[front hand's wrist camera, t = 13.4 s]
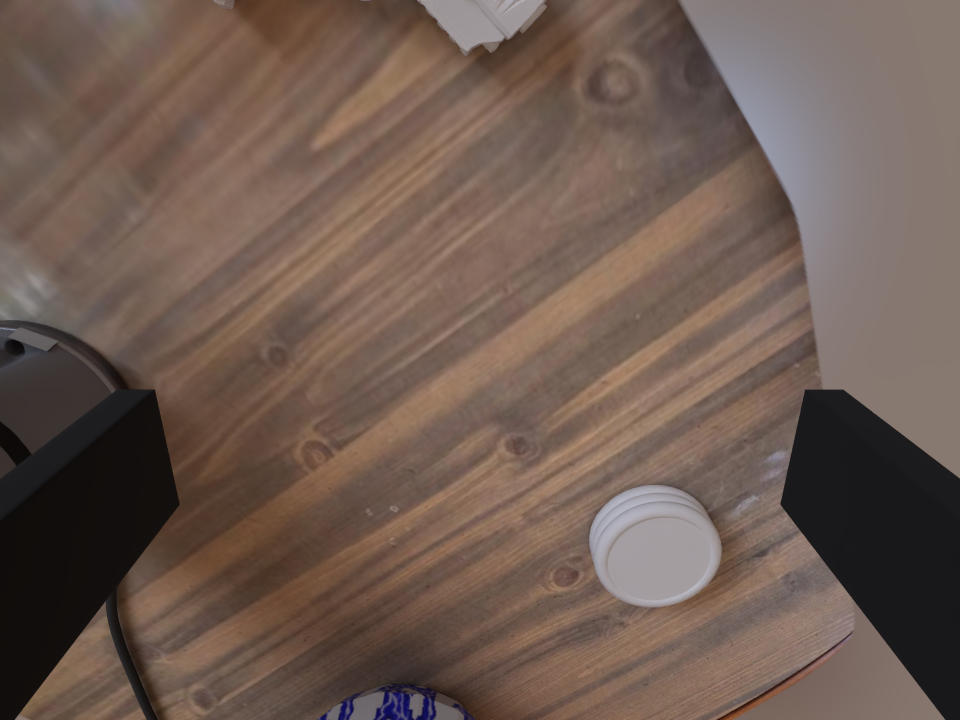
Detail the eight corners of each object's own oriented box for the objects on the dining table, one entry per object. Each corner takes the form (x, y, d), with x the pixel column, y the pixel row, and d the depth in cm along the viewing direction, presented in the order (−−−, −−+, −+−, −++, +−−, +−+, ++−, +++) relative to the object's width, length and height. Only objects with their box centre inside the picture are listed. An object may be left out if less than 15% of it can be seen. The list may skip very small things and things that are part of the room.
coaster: (733, 525, 51) (751, 553, 48) (648, 598, 54) (659, 630, 51) (647, 459, 49) (659, 484, 45) (563, 540, 52) (569, 569, 48)
